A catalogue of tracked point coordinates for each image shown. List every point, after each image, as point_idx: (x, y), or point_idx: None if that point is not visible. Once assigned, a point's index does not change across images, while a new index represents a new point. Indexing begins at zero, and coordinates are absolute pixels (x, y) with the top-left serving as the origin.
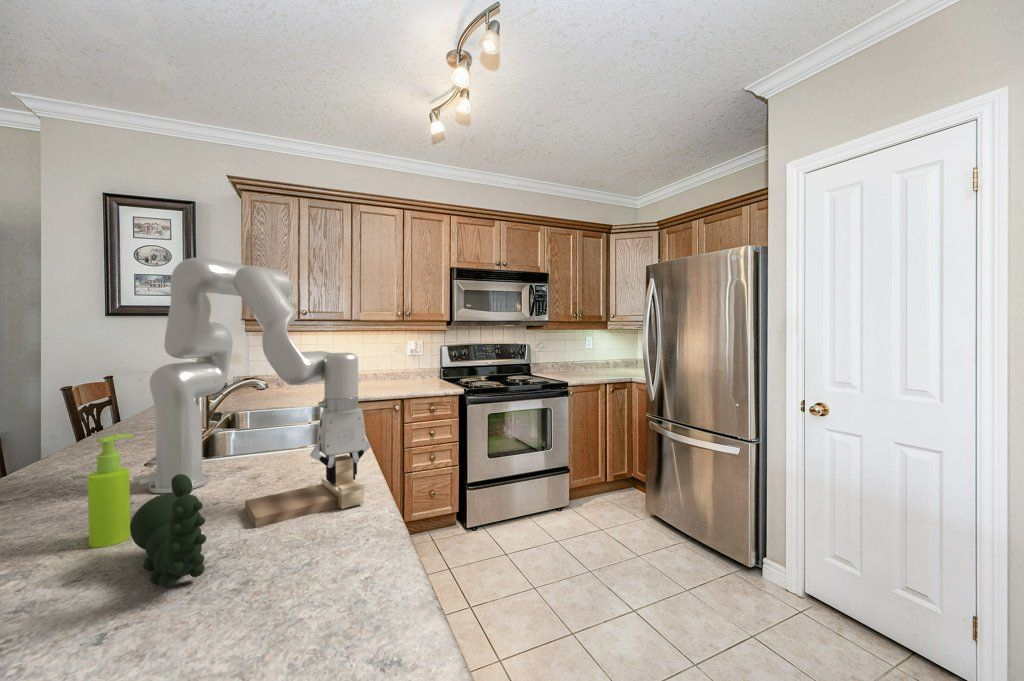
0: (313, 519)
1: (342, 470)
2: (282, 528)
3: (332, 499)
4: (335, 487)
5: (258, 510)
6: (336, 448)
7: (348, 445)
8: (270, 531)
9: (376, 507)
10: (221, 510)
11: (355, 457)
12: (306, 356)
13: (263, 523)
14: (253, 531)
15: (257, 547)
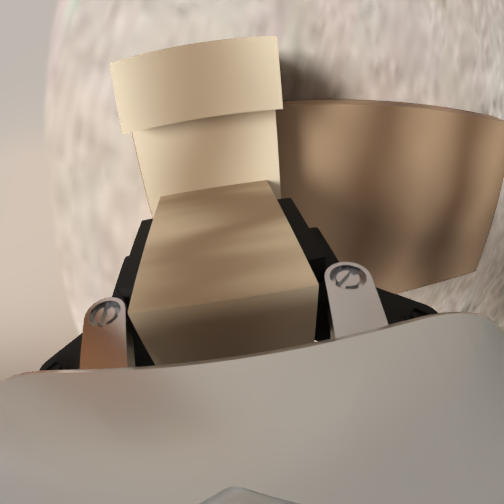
0: (373, 44)
1: (236, 236)
2: (455, 54)
3: (292, 110)
4: (271, 178)
5: (494, 178)
6: (409, 405)
7: (177, 472)
8: (476, 62)
9: (100, 23)
10: (480, 272)
11: (107, 335)
12: None
13: (485, 115)
14: (497, 98)
15: (497, 4)
